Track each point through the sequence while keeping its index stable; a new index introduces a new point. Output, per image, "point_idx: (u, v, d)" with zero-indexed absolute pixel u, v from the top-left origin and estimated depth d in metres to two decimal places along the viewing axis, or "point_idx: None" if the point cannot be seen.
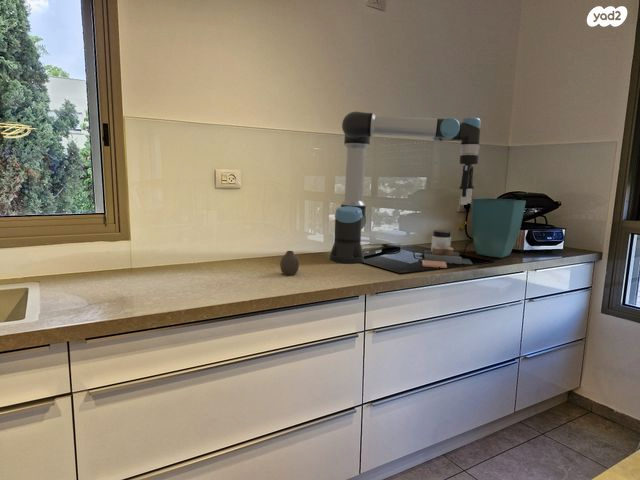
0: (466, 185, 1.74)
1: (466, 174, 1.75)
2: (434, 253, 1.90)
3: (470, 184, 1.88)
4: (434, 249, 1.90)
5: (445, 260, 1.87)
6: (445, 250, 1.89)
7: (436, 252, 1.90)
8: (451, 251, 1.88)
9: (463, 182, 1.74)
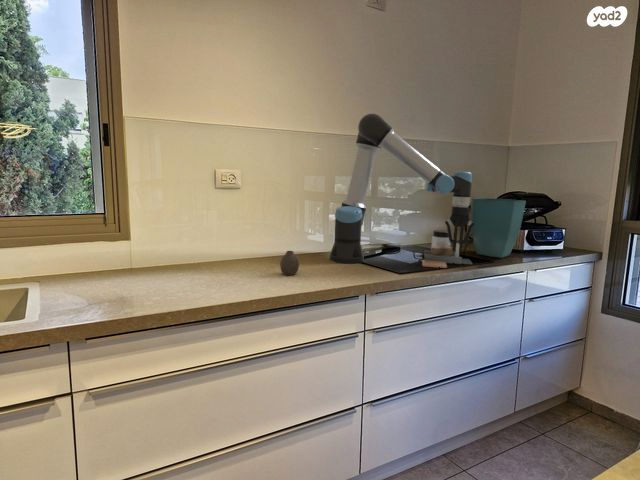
0: (449, 240, 1.90)
1: (447, 229, 1.90)
2: (432, 253, 1.90)
3: (459, 237, 1.89)
4: (432, 249, 1.90)
5: (445, 260, 1.87)
6: (443, 250, 1.89)
7: (434, 252, 1.90)
8: (449, 251, 1.88)
9: None
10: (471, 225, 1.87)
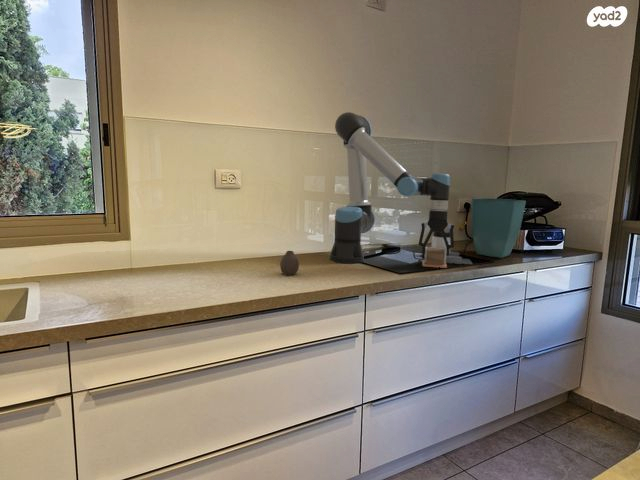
0: None
1: (421, 232, 1.81)
2: None
3: (445, 242, 1.79)
4: (427, 248, 1.86)
5: None
6: (427, 250, 1.82)
7: None
8: None
9: (419, 240, 1.82)
10: (451, 228, 1.77)
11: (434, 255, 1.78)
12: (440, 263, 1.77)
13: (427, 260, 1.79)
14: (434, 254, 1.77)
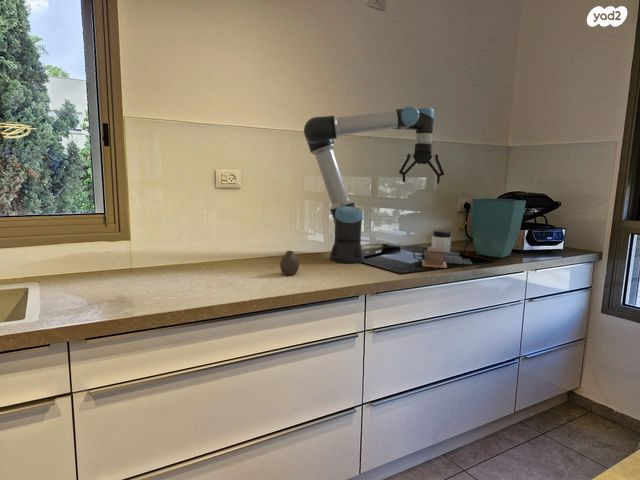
0: (399, 171, 1.93)
1: None
2: None
3: None
4: None
5: (445, 260, 1.87)
6: (427, 250, 1.82)
7: None
8: (427, 251, 1.79)
9: None
10: (436, 157, 1.89)
11: (434, 255, 1.78)
12: (440, 263, 1.77)
13: (427, 260, 1.79)
14: (434, 254, 1.77)
